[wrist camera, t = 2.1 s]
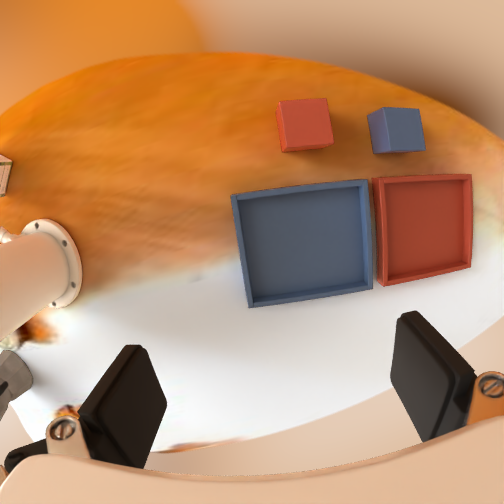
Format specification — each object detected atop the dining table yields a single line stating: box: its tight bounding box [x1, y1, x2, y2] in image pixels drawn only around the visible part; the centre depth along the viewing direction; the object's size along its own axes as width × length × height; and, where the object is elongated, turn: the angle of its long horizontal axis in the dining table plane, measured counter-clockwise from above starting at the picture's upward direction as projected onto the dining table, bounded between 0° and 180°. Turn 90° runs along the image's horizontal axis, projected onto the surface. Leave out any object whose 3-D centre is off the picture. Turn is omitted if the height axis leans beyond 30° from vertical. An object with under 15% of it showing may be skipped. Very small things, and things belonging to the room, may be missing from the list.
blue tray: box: [231, 179, 373, 308], centre depth 30 cm, size 14×12×2 cm
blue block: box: [367, 107, 426, 154], centre depth 26 cm, size 4×4×4 cm
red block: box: [276, 98, 334, 152], centre depth 26 cm, size 4×4×4 cm
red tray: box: [372, 174, 473, 287], centre depth 29 cm, size 14×12×2 cm
